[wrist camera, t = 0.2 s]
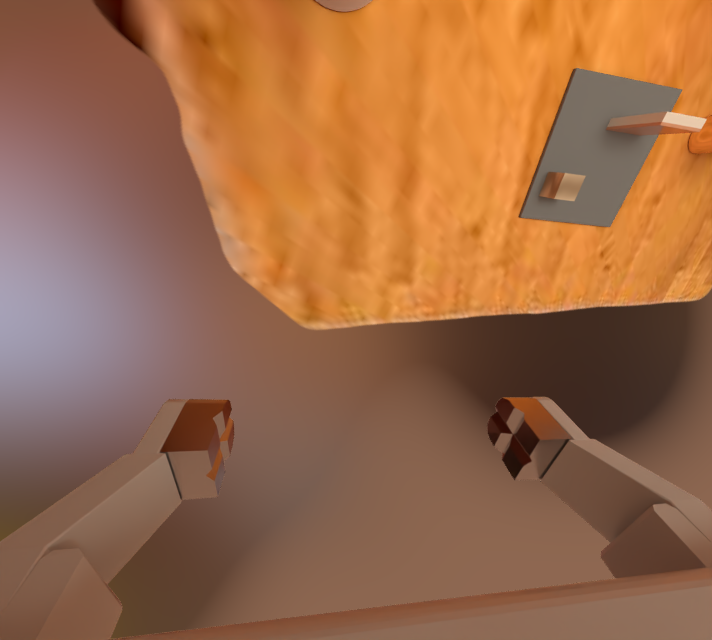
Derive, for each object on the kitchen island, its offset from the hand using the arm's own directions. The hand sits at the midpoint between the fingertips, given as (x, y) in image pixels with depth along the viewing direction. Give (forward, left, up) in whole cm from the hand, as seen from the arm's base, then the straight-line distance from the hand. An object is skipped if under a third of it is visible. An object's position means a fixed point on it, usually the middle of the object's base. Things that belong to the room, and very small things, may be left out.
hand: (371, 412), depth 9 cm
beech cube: (-6, +41, -47) cm, 63 cm away
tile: (-16, +50, -47) cm, 70 cm away
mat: (-11, +47, -48) cm, 68 cm away
